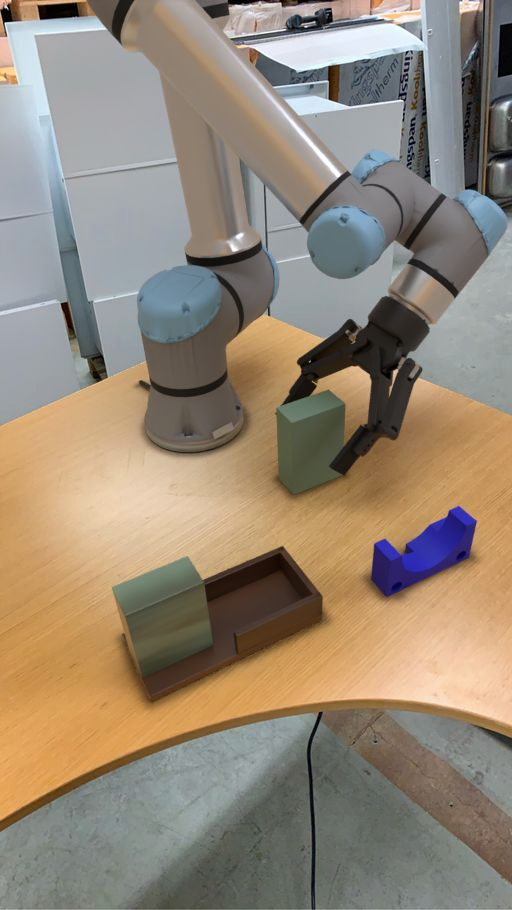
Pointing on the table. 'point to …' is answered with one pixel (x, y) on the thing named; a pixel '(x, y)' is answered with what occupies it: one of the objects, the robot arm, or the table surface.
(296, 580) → the brown desk organizer
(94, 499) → the table surface
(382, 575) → the blue cradle bracket
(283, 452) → the green rectangular block
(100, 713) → the table surface
